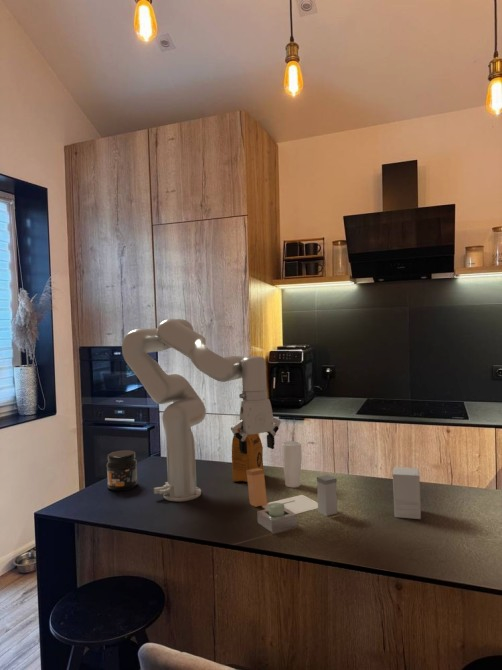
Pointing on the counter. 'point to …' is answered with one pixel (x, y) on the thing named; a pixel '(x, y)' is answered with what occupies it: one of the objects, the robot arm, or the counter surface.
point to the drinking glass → (292, 463)
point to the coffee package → (246, 456)
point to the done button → (276, 509)
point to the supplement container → (122, 470)
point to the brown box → (256, 487)
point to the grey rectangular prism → (327, 495)
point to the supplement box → (406, 492)
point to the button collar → (277, 520)
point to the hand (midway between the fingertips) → (257, 450)
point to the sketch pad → (296, 504)
